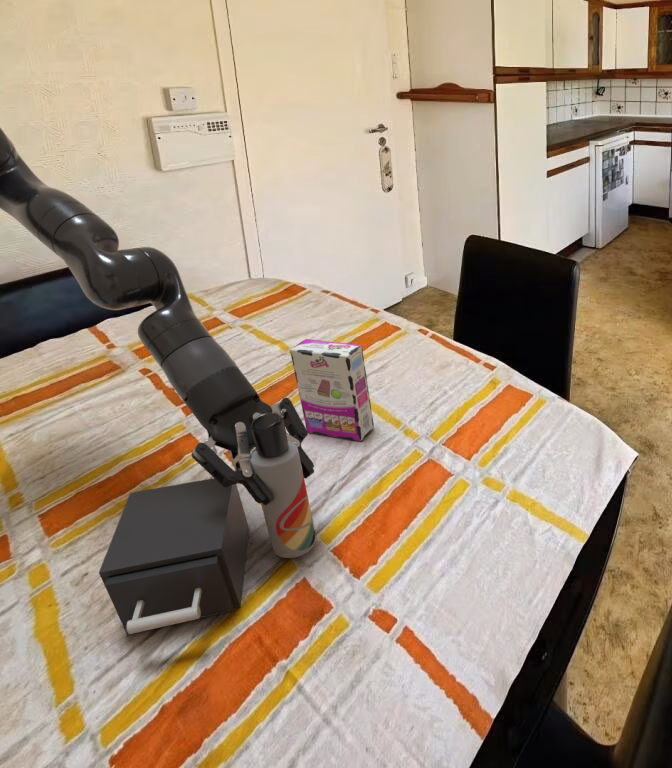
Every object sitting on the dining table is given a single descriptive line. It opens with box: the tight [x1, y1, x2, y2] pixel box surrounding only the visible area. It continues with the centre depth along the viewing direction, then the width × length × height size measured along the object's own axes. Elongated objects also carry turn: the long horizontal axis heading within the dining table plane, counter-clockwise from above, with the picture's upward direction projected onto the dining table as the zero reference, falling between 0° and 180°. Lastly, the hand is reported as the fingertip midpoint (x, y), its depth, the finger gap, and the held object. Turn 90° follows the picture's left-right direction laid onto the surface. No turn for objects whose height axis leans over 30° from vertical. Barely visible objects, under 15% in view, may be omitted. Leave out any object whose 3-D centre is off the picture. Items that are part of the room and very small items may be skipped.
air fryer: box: [98, 477, 250, 628], centre depth 78 cm, size 15×13×10 cm
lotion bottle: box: [250, 413, 317, 559], centre depth 79 cm, size 6×6×20 cm
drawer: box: [104, 555, 234, 635], centre depth 75 cm, size 18×11×8 cm, turn 16°
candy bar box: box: [289, 338, 375, 442], centre depth 107 cm, size 11×5×16 cm, turn 73°
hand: (290, 488), depth 78 cm, fingers closed on lotion bottle, 5 cm apart
